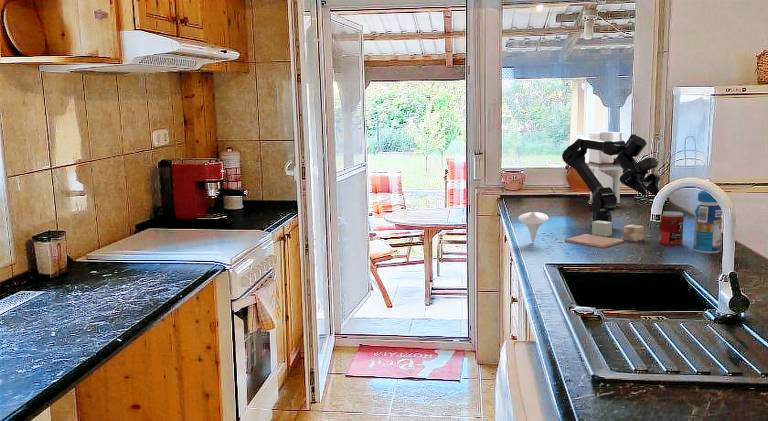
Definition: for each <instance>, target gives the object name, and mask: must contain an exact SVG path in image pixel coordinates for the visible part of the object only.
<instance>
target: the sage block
mask: <svg viewBox="0 0 768 421" xmlns="http://www.w3.org/2000/svg"><path fill="white" fill-rule="evenodd" d="M591 225H592V226H591V235H595V236H602V237H610V236H612V235H613V226H612V225H613V221H612V222H607V221H599V220H598V221H594V222H593V221H591Z"/></svg>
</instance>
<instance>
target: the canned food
mask: <svg viewBox="0 0 768 421" xmlns="http://www.w3.org/2000/svg"><path fill="white" fill-rule="evenodd" d="M662 212H663V214H662V221H661V222H659V221H658V222H659V226H658V227H659V228H658V243H659V244H660V245H662V246H668V247H679V246H682V244H683V238H684V236H683V235H684V218H685V216H684V212H679V211H670V210H669V211H667V210H666V211H662Z"/></svg>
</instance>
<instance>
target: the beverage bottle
mask: <svg viewBox="0 0 768 421" xmlns="http://www.w3.org/2000/svg"><path fill="white" fill-rule="evenodd" d="M705 191H706V190H701V191H700V190H699V191H698V193H697V202H698V204H697V206H696V208H695V210H694V214H695V216H694V218H693V222H694V223H693V224H694V225H693V226H694V227H693V245H692V246H693V247H692V249H693V251H694V252H695V253H701V254H718V253H719V252H721V238H722V237H721V235H722V224H723V219H722V215H723V210H722V208H721V206H720V204H719V203H718V202H717V201H716V200H715V199H714V198H713V197H712V196H711V195H710V194H709V193H707V192H705ZM721 210H722V211H721Z"/></svg>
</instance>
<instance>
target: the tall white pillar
mask: <svg viewBox="0 0 768 421" xmlns="http://www.w3.org/2000/svg"><path fill="white" fill-rule="evenodd" d="M622 134H623V133H622V132H619V131H618V132H616V131H597V132H591V131H590V132H589V138H588V139H594V140H601V141H616V140H622ZM617 156H618V155H612V156H609V155H607V154H605V153H603V152H602V151H599V150H593V149H588V167H589V168H590V170H591V171H592V172H593V174H594V175H595V177H596V178H597V179H598V181H599V182H600V183H601V185H602V186H603V187H604V188H606V187H610V188H611V189H612V191H613V192H614V193H615V194H616V195H615V196H616V198H617V203H616V206H619V207H620V204H621V202H620V197H621V194H620V193H621V192H620V191H621V182H620V181H619V180H620V176H621V172H622V171H621V169H622V168H621V167H620V165H613V162H614V158H616V157H617ZM589 191H590V190H589ZM589 194H590V196H589V200H587V204H588V203H589V204H592V202H593V200H592V192H591V191H590V192H589ZM616 206H615V208H617V207H616Z"/></svg>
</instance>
